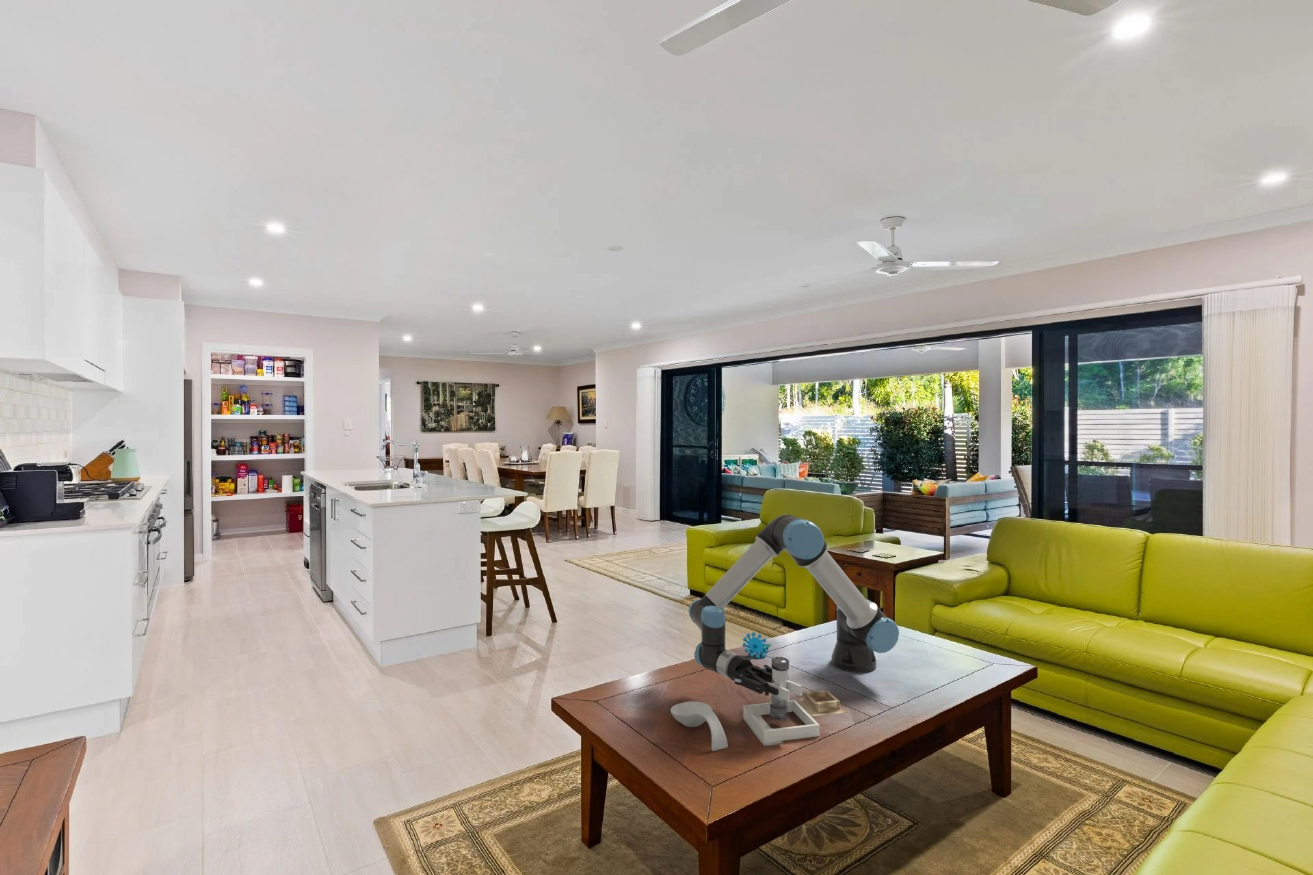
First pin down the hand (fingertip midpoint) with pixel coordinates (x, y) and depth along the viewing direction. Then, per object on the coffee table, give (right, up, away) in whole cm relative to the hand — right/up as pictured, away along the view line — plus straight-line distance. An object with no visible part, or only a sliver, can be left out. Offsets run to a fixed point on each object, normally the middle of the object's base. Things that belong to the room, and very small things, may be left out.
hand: (794, 693), depth 176 cm
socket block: (+12, -11, +17) cm, 24 cm away
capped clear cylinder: (-4, -8, +5) cm, 10 cm away
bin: (-3, -12, +5) cm, 13 cm away
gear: (-1, -10, +61) cm, 61 cm away
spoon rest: (-26, -12, +4) cm, 29 cm away
